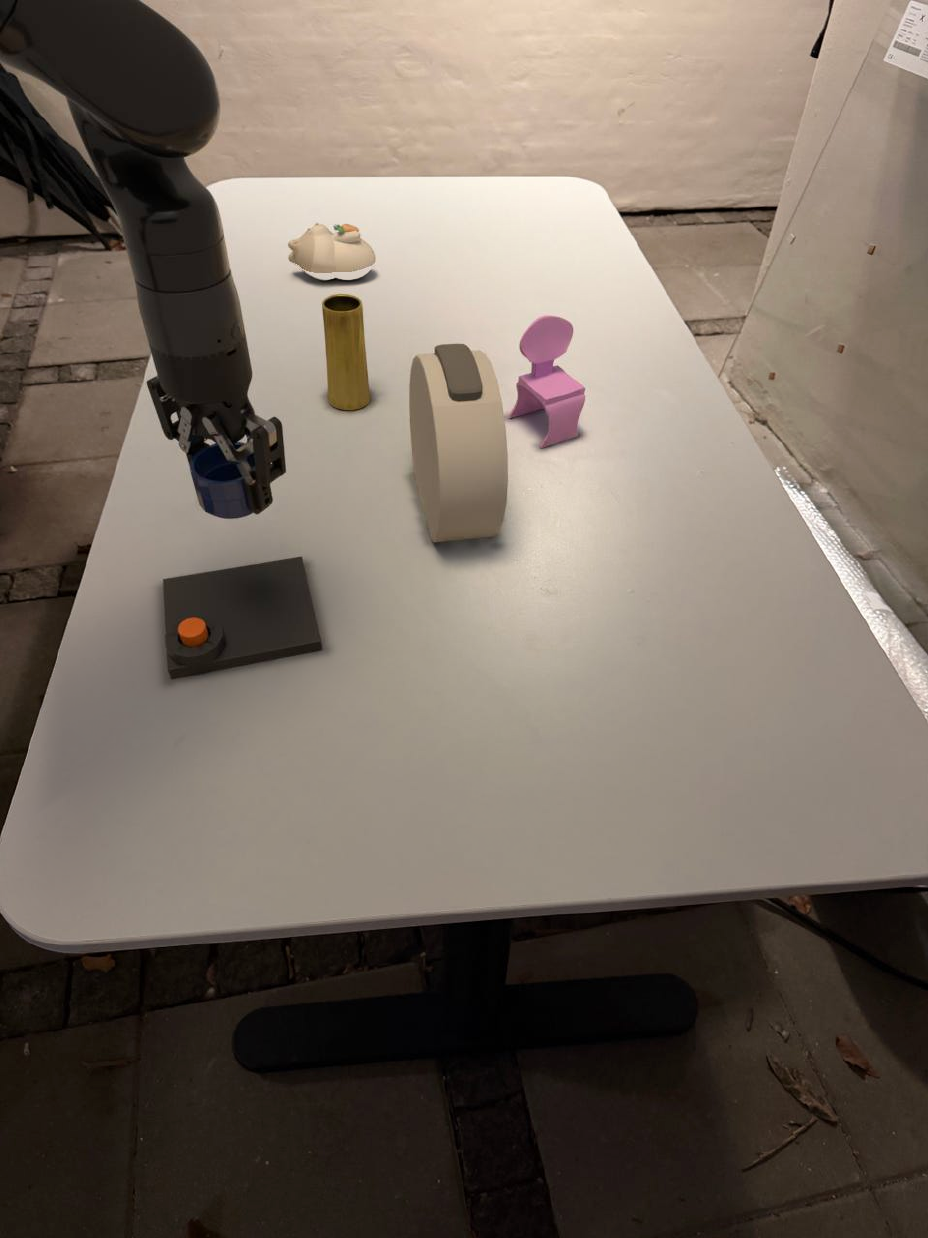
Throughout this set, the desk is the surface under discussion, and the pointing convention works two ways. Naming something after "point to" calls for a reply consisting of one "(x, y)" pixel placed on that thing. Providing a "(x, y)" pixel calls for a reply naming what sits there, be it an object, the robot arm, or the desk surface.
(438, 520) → the alarm clock
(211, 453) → the bowl
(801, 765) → the desk surface
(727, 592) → the desk surface
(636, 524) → the desk surface
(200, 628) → the button
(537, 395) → the toy chair
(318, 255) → the cat figurine
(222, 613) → the scale
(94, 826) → the desk surface
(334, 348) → the vase
